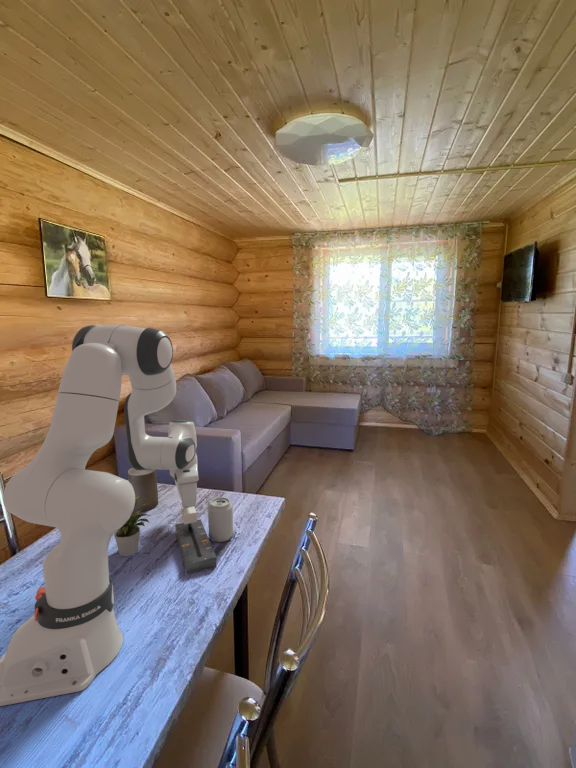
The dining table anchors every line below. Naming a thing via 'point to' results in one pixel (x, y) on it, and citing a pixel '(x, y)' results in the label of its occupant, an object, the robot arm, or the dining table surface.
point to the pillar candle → (144, 487)
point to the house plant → (130, 533)
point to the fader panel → (195, 547)
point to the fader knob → (189, 515)
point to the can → (220, 519)
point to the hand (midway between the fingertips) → (185, 508)
